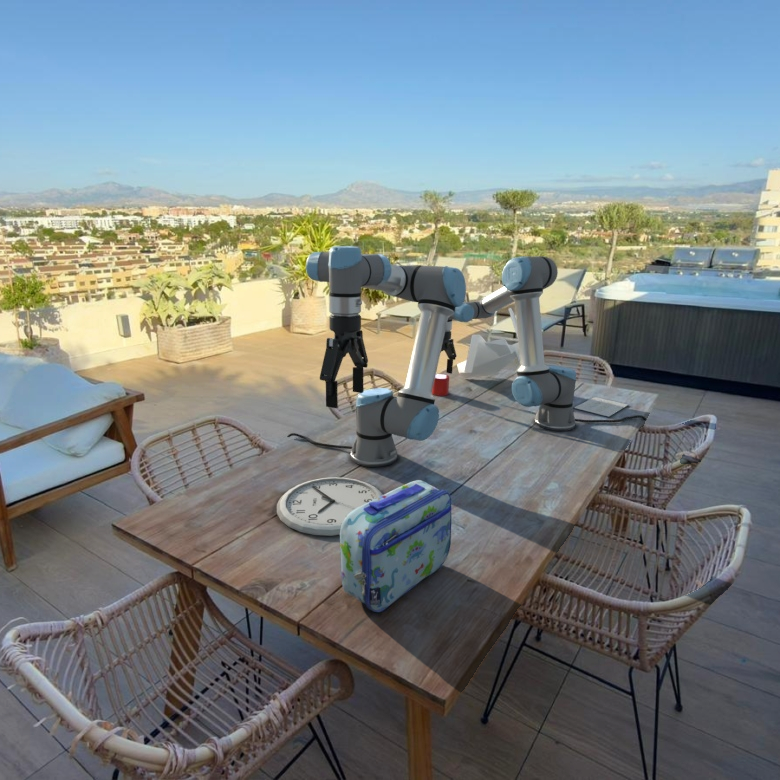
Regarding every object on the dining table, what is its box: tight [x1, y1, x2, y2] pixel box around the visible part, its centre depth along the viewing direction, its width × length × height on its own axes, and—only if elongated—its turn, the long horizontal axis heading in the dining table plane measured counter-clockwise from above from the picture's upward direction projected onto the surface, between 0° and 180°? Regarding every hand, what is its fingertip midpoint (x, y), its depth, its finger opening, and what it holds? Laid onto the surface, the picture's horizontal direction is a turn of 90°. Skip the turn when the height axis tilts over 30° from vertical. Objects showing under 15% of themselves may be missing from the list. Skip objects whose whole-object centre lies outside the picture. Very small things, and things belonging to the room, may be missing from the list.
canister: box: [432, 373, 450, 397], centre depth 240 cm, size 8×8×8 cm
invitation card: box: [573, 396, 629, 418], centre depth 226 cm, size 21×1×15 cm
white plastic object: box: [456, 307, 521, 379], centre depth 256 cm, size 37×45×31 cm
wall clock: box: [276, 476, 385, 537], centre depth 142 cm, size 30×2×30 cm
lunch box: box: [339, 479, 452, 613], centre depth 109 cm, size 26×11×21 cm, turn 134°
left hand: (345, 399), depth 130 cm, fingers open, 13 cm apart
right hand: (440, 376), depth 239 cm, fingers open, 13 cm apart
